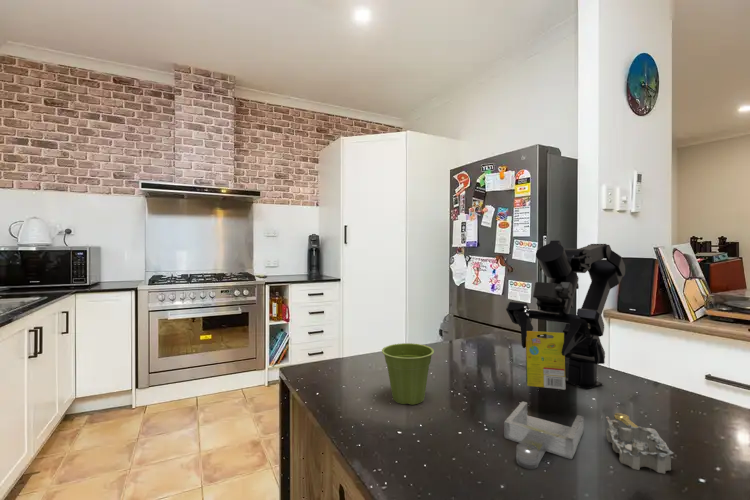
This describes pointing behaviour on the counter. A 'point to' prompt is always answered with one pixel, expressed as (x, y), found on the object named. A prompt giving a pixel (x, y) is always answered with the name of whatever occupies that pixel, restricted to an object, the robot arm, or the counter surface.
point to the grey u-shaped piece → (540, 437)
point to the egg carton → (639, 447)
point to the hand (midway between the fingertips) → (542, 350)
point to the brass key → (624, 419)
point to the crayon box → (545, 360)
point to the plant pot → (408, 371)
